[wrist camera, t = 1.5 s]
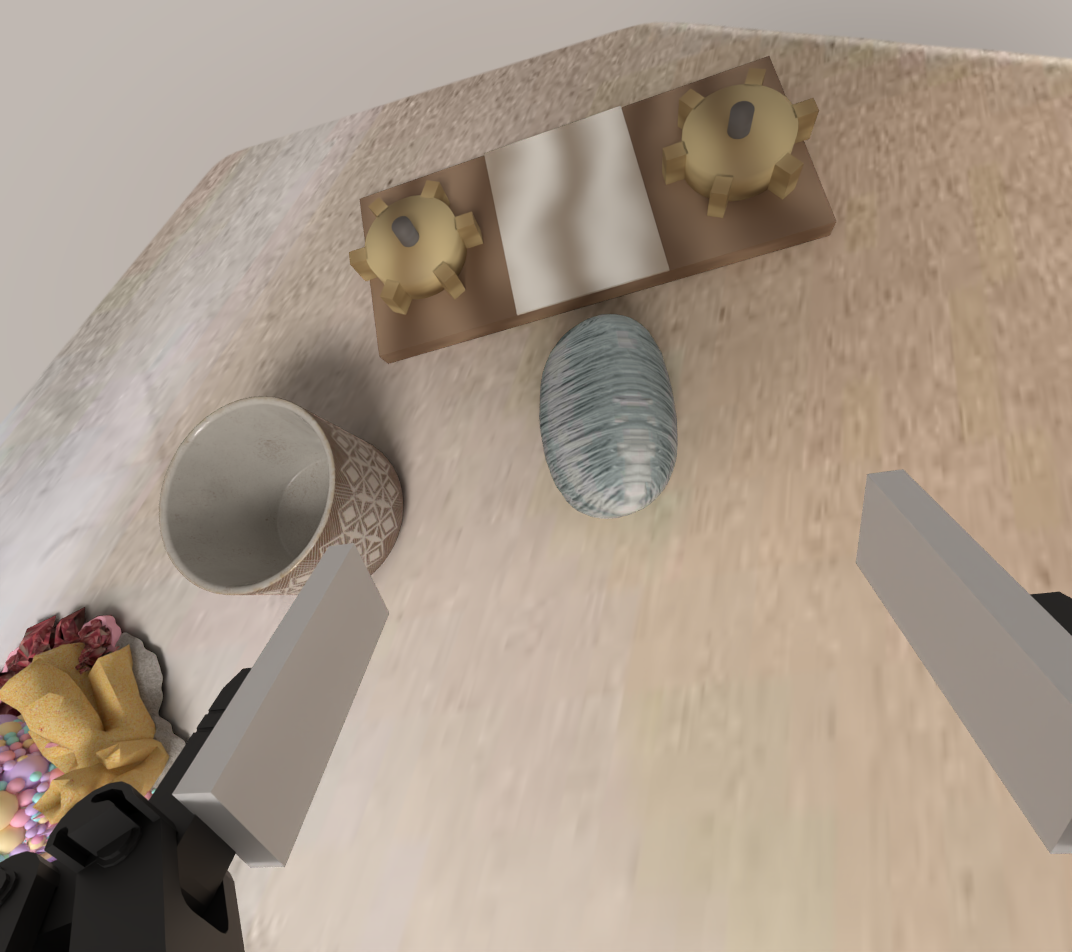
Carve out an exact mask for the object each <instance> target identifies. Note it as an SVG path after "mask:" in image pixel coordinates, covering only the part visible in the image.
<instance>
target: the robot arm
mask: <svg viewBox="0 0 1072 952" xmlns="http://www.w3.org/2000/svg"><path fill="white" fill-rule="evenodd" d="M856 564H857V565H858V567H859V568H860V570H861V571H862V573H863V574H864V576H865V577H866V579H867V580H868V582H869V583H870V585H871V586H872V588H873V589H874V591H875V592H876V594H877V595H878V597H879V598H880V600H881V601H882V603H883V604H884V606H885V607H886V609H887V610H888V612H889V613H890V615H891V616H892V618H893V619H894V621H895V622H896V624H897V625H898V627H899V628H900V630H901V631H902V633H903V634H904V636H905V637H906V639H907V640H908V642H909V643H910V645H911V646H912V648H913V649H914V651H915V652H916V654H917V655H918V657H919V658H920V660H921V661H922V663H923V664H924V666H925V667H926V669H927V670H928V672H929V673H930V675H931V676H932V678H933V679H934V681H935V682H936V684H937V685H938V687H939V688H940V690H941V691H942V693H943V694H944V696H945V697H946V698H947V700H948V701H949V703H950V704H951V706H952V707H953V709H954V710H955V712H956V713H957V715H958V716H959V718H960V719H961V721H962V722H963V724H964V725H965V727H966V728H967V730H968V731H969V733H970V734H971V736H972V737H973V739H974V740H975V742H976V743H977V745H978V746H979V748H980V749H981V751H982V752H983V754H984V755H985V757H986V758H987V760H988V761H989V763H990V764H991V766H992V767H993V769H994V770H995V772H996V773H997V775H998V776H999V778H1000V779H1001V781H1002V782H1003V784H1004V785H1005V787H1006V788H1007V790H1008V791H1009V793H1010V794H1011V796H1012V797H1013V799H1014V800H1015V802H1016V803H1017V805H1018V806H1019V808H1020V809H1021V811H1022V812H1023V814H1024V815H1025V817H1026V818H1027V820H1028V821H1029V823H1030V824H1031V826H1032V827H1033V829H1034V830H1035V832H1036V833H1037V835H1038V836H1039V838H1040V839H1041V841H1042V842H1043V844H1044V845H1045V847H1046V848H1047V850H1048V851H1049V853H1050V854H1067V853H1072V598H1070V597H1068V596H1066V595H1064V594H1062V593H1061V592H1052V593H1041V594H1029V593H1028V592H1027V591H1026V590H1025V589H1024V588H1023V587H1022V586H1021V585H1020V584H1019V583H1018V582H1017V581H1016V580H1015V579H1014V578H1013V577H1012V576H1011V575H1010V574H1008V573H1007V572H1006V571H1005V570H1004V569H1003V568H1002V567H1001V566H1000V565H999V564H998V563H997V562H996V561H995V560H994V559H993V558H992V557H991V556H990V555H989V554H988V553H987V552H986V551H985V550H984V549H983V548H982V547H981V546H980V545H979V544H978V543H977V542H976V541H975V540H974V539H973V538H972V537H971V536H970V535H969V534H968V533H967V532H966V531H965V530H964V529H963V528H962V527H961V526H960V525H959V524H958V523H957V522H956V521H955V520H954V519H953V518H952V517H951V516H950V515H949V514H948V513H947V512H946V511H945V510H944V509H943V508H942V507H941V506H940V505H939V504H938V503H937V502H936V501H935V500H934V499H933V498H932V497H931V496H930V495H929V494H928V493H926V492H925V491H924V490H923V489H922V488H921V487H920V486H919V485H918V484H917V483H916V482H915V481H914V480H913V479H912V478H911V477H910V476H909V475H908V474H907V473H906V472H905V471H904V470H903V469H902V470H895V471H887V472H880V473H872V474H867V480H866V487H865V495H864V503H863V511H862V519H861V526H860V534H859V542H858V550H857V558H856ZM388 615H389V611H388V609H387V607H386V605H385V603H384V601H383V599H382V597H381V595H380V593H379V591H378V589H377V587H376V585H375V583H374V582H373V580H372V578H371V576H370V574H369V572H368V570H367V568H366V566H365V564H364V562H363V560H362V558H361V556H360V554H359V552H358V550H357V548H356V546H355V544H354V543H350V544H342V545H335V546H329V547H328V549H327V550H326V552H325V553H324V555H323V557H322V558H321V560H320V561H319V563H318V564H317V566H316V568H315V569H314V571H313V572H312V574H311V576H310V577H309V579H308V580H307V582H306V583H305V585H304V587H303V588H302V590H301V591H300V593H299V594H298V596H297V598H296V599H295V601H294V602H293V604H292V606H291V607H290V609H289V610H288V612H287V613H286V615H285V617H284V618H283V620H282V621H281V623H280V624H279V626H278V628H277V629H276V631H275V632H274V634H273V636H272V637H271V639H270V640H269V642H268V643H267V645H266V647H265V648H264V650H263V651H262V653H261V654H260V656H259V658H258V659H257V661H256V662H255V664H254V666H253V667H252V668H245V669H242V670H241V671H240V672H239V673H238V674H237V675H236V676H235V677H234V678H233V679H232V680H231V681H230V682H229V683H228V684H227V685H226V686H225V687H224V688H223V689H222V691H221V692H220V694H219V695H218V697H217V698H216V700H215V701H214V703H213V704H212V706H211V707H210V709H209V713H208V714H206V715H205V716H204V718H203V719H202V721H201V722H200V724H199V725H198V727H197V732H196V733H193V734H192V736H191V737H190V739H189V740H188V742H187V743H186V745H185V746H184V748H183V749H182V751H181V752H180V754H179V755H178V757H177V758H176V760H175V761H174V763H173V764H172V766H171V767H170V769H169V770H168V772H167V774H166V775H165V777H164V778H163V780H162V781H161V783H160V784H159V786H158V787H157V789H156V790H155V792H154V793H153V795H152V796H151V798H150V799H149V800H147V799H146V798H145V797H144V796H143V795H142V794H140V793H139V792H138V791H137V790H136V789H135V788H134V787H133V786H131V785H130V784H128V783H125V782H123V781H119V782H114V783H108V784H106V785H104V786H102V787H100V788H98V789H96V790H94V791H92V792H91V793H89V794H88V795H87V796H85V797H84V798H83V799H81V800H80V801H79V802H77V803H76V804H75V805H74V806H73V807H72V808H71V809H70V810H69V811H68V812H67V813H66V814H65V815H64V816H63V817H62V818H61V819H60V821H59V822H58V824H57V825H56V827H55V828H54V830H53V831H52V832H51V834H50V835H49V838H48V841H47V843H46V846H45V849H44V851H46V852H47V853H48V854H50V855H51V856H53V857H54V858H56V859H57V860H55V861H52V862H49V861H47V860H46V859H44V858H43V857H41V856H40V855H38V854H37V853H34V852H29V851H25V852H21V853H18V854H15V855H12V856H10V857H9V858H7V859H5V860H3V861H2V862H0V952H245V951H244V944H243V937H242V931H241V924H240V918H239V911H238V905H237V898H236V892H235V885H234V881H233V878H232V876H231V874H230V872H228V871H227V870H228V868H229V866H230V864H231V862H232V860H233V858H234V855H235V854H237V855H238V856H239V857H240V858H241V859H242V860H243V861H244V862H245V863H246V864H247V865H248V866H249V867H250V868H252V867H285V865H286V863H287V860H288V858H289V856H290V853H291V851H292V848H293V846H294V843H295V841H296V839H297V836H298V834H299V831H300V829H301V826H302V824H303V822H304V819H305V817H306V814H307V812H308V809H309V807H310V805H311V802H312V800H313V797H314V795H315V792H316V790H317V788H318V785H319V783H320V780H321V778H322V775H323V773H324V771H325V768H326V766H327V763H328V761H329V758H330V756H331V754H332V751H333V749H334V746H335V744H336V741H337V739H338V737H339V734H340V732H341V729H342V727H343V724H344V722H345V720H346V717H347V715H348V712H349V710H350V707H351V705H352V703H353V700H354V698H355V695H356V693H357V690H358V688H359V686H360V683H361V681H362V678H363V676H364V673H365V671H366V669H367V666H368V664H369V661H370V659H371V656H372V654H373V651H374V649H375V647H376V644H377V642H378V639H379V637H380V634H381V632H382V630H383V627H384V625H385V622H386V620H387V617H388Z"/></svg>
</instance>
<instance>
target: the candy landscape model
mask: <svg viewBox="0 0 1072 952" xmlns="http://www.w3.org/2000/svg"><path fill="white" fill-rule="evenodd" d="M55 618H56V616H53V617H51V618H49V619H47V620H45V621H43V622H41V623H38V624H36V625H34V626H32V627H30V628H28V629H27V630H26V633H25V636H24V638H23V640H22V642H21V644H20V646H19V647H18V648H16V649H15V650H14V651H12V652H11V653H10V654H9V656H8V658H7V661H6V664H5V666H4V669H3V671H2V673H0V862H2V861H3V860H5V859H7V858H9V857H10V856H12V855H15V854H18V853H21V852H25V851H29V852H34V853H37V854H38V855H40V856H41V857H43V858H44V859H46V860H47V861H49V862H52V861H55V860H57V859H56V858H54V857H53V856H51V855H50V854H48V853H47V852H46V851H44V849H45V846H46V843H47V841H48V838H49V835H50V834H51V832H52V831H53V830H54V828H55V827H56V825H57V824H58V822H59V821H60V819H61V818H62V817H63V816H64V815H65V814H66V813H67V812H68V811H69V810H70V809H71V808H72V807H73V806H74V805H75V804H76V803H77V802H79V801H80V800H81V799H83V798H84V797H85V796H87V795H88V794H89V793H91V792H92V791H94V790H96V789H98V788H100V787H102V786H104V785H106V784H108V783H114V782H119V781H123V782H125V783H128V784H130V785H131V786H133V787H134V788H135V789H136V790H137V791H138V792H139V793H140V794H142V795H143V796H144V797H145V798H146V799H147V800H149V799H150V798H151V796H152V795H153V793H154V792H155V790H156V789H157V787H158V786H159V784H160V783H161V781H162V780H163V778H164V777H165V775H166V774H167V772H168V770H169V769H170V767H171V766H172V764H173V763H174V761H175V760H176V758H177V757H178V755H179V754H180V752H181V751H182V749H183V748H184V746H185V741H184V740H183V739H182V738H180V737H178V736H176V735H175V734H173V732H172V727H171V724H170V723H169V722H168V721H166V720H164V719H163V718H161V717H160V716H159V713H158V712H159V708H160V706H161V703H162V699H163V693H162V690H161V685H162V681H163V676H162V673H161V670H160V666H159V663H158V660H157V656H156V655H155V654H154V653H153V652H150V651H148V650H146V649H145V648H144V646H143V642H142V641H141V640H140V639H138V638H135V637H133V636H131V635H130V634H128V633H122V634H121V629H120V627H119V626H117V625H116V622H115V618H114V617H113V616H112V615H105V616H97V617H96V618H94V619H92V620H90V621H89V622H87V623H85V607H84V608H82V609H80V610H78V611H76V612H74V613H72V614H71V615H69V616H67V617H65V618H63V619H61V620H60V622H59V623H58V625H57V627H54V624H55ZM84 623H85V624H84Z"/></svg>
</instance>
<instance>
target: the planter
mask: <svg viewBox="0 0 1072 952" xmlns="http://www.w3.org/2000/svg"><path fill="white" fill-rule="evenodd" d="M402 516H403V496H402V490H401V485H400V482H399V479H398V476H397V474H396V472H395V470H394V468H393V466H392V465H391V463H390V462H389V460H388V459H387V458H386V457H385V456H384V455H383V454H382V453H381V452H380V451H379V450H378V449H377V448H375V447H374V446H372V445H371V444H369V443H367V442H365V441H364V440H362V439H360V438H358V437H356V436H354V435H352V434H350V433H349V432H347V431H345V430H343V429H341V428H339V427H337V426H335V425H334V424H332V423H330V422H328V421H326V420H324V419H322V418H320V417H319V416H317V415H315V414H313V413H311V412H309V411H307V410H305V409H304V408H302V407H300V406H298V405H296V404H294V403H292V402H290V401H287V400H284V399H281V398H276V397H268V396H258V397H250V398H245V399H241V400H238V401H235V402H232V403H229V404H227V405H225V406H223V407H221V408H219V409H218V410H216V411H214V412H213V413H211V414H210V415H209V416H207V417H206V418H205V419H203V420H202V421H201V422H200V423H199V424H198V425H197V426H196V427H195V428H194V429H193V430H192V431H191V432H190V433H189V434H188V436H187V437H186V438H185V439H184V441H183V442H182V443H181V445H180V446H179V448H178V450H177V451H176V453H175V455H174V457H173V458H172V460H171V463H170V465H169V467H168V469H167V472H166V475H165V478H164V481H163V485H162V489H161V494H160V502H159V525H160V532H161V536H162V540H163V544H164V547H165V549H166V551H167V554H168V556H169V558H170V559H171V561H172V563H173V564H174V566H175V567H176V568H177V570H178V571H179V572H180V573H181V574H182V575H183V576H184V577H185V578H186V579H187V580H189V581H190V582H191V583H193V584H194V585H196V586H198V587H199V588H202V589H204V590H206V591H209V592H212V593H217V594H223V595H298V594H299V593H300V591H301V590H302V588H303V587H304V585H305V583H306V582H307V580H308V579H309V577H310V576H311V574H312V572H313V571H314V569H315V568H316V566H317V564H318V563H319V561H320V560H321V558H322V557H323V555H324V553H325V552H326V550H327V549H328V547H329V546H335V545H342V544H350V543H354V544H355V546H356V548H357V550H358V552H359V554H360V556H361V558H362V560H363V562H364V564H365V566H366V568H367V570H368V572H369V574H370V575H372V574H373V573H374V572H375V571H376V570H377V569H378V568H379V567H380V566H381V564H382V563H383V562H384V561H385V559H386V558H387V556H388V555H389V553H390V552H391V550H392V548H393V546H394V544H395V542H396V539H397V537H398V534H399V531H400V527H401V522H402Z"/></svg>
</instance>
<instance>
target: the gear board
mask: <svg viewBox="0 0 1072 952" xmlns="http://www.w3.org/2000/svg"><path fill="white" fill-rule="evenodd" d="M818 112H819V110H818V107H817V105H816V103H815V100H814V98H812V99H809V100H806V101H803V102H800V103H797V104H794V105H792V104H791V102H790V101H789V100H788V99H787V98H786V96H785V94H784V91H783V89H782V86H781V84H780V81H779V79H778V76H777V74H776V71H775V69H774V66H773V64H772V62H771V59H770V57H769V56H768V57H765V58H762V59H759V60H756V61H753V62H751V63H748V64H745V65H742V66H739V67H736V68H733V69H730V70H728V71H725V72H722V73H719V74H716V75H713V76H710V77H708V78H705V79H702V80H699V81H696V82H693V83H690V84H688V85H685V86H682V87H679V88H676V89H673V90H670V91H667V92H665V93H662V94H659V95H656V96H653V97H650V98H647V99H645V100H642V101H639V102H636V103H633V104H630V105H627V106H624V107H622V108H621V106H618V107H615V108H613V109H610V110H607V111H604V112H601V113H598V114H595V115H592V116H590V117H587V118H584V119H581V120H578V121H575V122H572V123H570V124H567V125H564V126H561V127H558V128H555V129H552V130H550V131H547V132H544V133H541V134H538V135H535V136H532V137H530V138H527V139H524V140H521V141H518V142H515V143H512V144H510V145H507V146H504V147H501V148H498V149H495V150H492V151H490V152H487V153H484V156H481V157H478V158H476V159H473V160H470V161H467V162H464V163H461V164H458V165H455V166H453V167H450V168H447V169H444V170H441V171H438V172H435V173H433V174H430V175H427V176H424V177H421V178H418V179H415V180H413V181H410V182H407V183H404V184H401V185H398V186H395V187H392V188H390V189H387V190H384V191H381V192H378V193H375V194H372V195H370V196H367V197H364V198H361V199H360V205H361V213H362V221H363V229H364V237H365V247H363V248H360V249H357V250H354V251H351V252H349V257H350V265H351V266H352V267H353V268H354V269H355V270H356V271H357V272H358V273H359V275H360V276H361V277H362V278H363V279H364V280H365V281H368V280H370V286H371V294H372V302H373V310H374V318H375V326H376V334H377V342H378V350H379V356H380V357H381V358H382V359H383V360H384V361H385V362H387V363H388V364H389V363H392V362H396V361H399V360H403V359H406V358H409V357H413V356H416V355H420V354H423V353H427V352H430V351H434V350H437V349H440V348H444V347H447V346H451V345H454V344H458V343H461V342H464V341H468V340H471V339H475V338H478V337H482V336H485V335H488V334H492V333H495V332H499V331H502V330H506V329H509V328H513V327H516V326H519V325H523V324H526V323H530V322H533V321H537V320H540V319H543V318H547V317H550V316H554V315H557V314H561V313H564V312H568V311H571V310H574V309H578V308H581V307H585V306H588V305H592V304H595V303H598V302H602V301H605V300H609V299H612V298H616V297H619V296H622V295H626V294H629V293H633V292H636V291H640V290H643V289H647V288H650V287H653V286H657V285H660V284H664V283H667V282H671V281H674V280H677V279H681V278H684V277H688V276H691V275H695V274H698V273H702V272H705V271H708V270H712V269H715V268H719V267H722V266H726V265H729V264H732V263H736V262H739V261H743V260H746V259H750V258H753V257H756V256H760V255H763V254H767V253H770V252H774V251H777V250H781V249H784V248H787V247H791V246H794V245H798V244H801V243H805V242H808V241H811V240H815V239H818V238H822V237H825V236H829V235H830V233H831V231H832V229H833V227H834V225H835V223H836V219H835V217H834V214H833V212H832V210H831V207H830V205H829V202H828V200H827V197H826V195H825V192H824V190H823V187H822V185H821V182H820V180H819V177H818V175H817V173H816V170H815V168H814V165H813V163H812V160H811V158H810V155H809V153H808V150H807V148H806V145H805V143H804V140H807V139H809V138H810V135H811V132H812V129H813V126H814V124H815V121H816V118H817V115H818Z"/></svg>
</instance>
